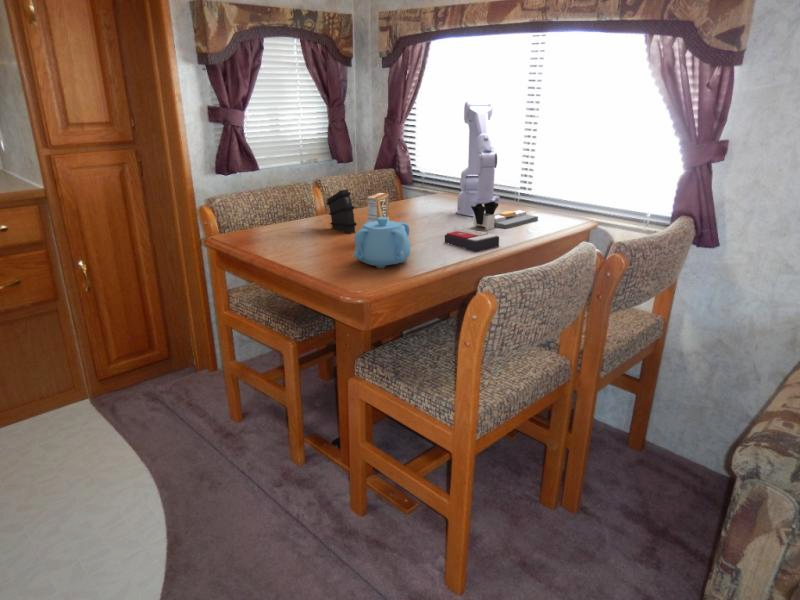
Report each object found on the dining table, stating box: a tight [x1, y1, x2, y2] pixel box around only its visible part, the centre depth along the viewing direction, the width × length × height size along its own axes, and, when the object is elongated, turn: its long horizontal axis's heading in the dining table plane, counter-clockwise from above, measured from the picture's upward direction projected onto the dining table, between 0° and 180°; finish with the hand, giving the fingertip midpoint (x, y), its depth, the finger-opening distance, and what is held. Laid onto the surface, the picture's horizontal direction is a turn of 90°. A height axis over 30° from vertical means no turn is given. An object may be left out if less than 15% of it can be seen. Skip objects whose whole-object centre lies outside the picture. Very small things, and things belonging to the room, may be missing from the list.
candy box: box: [366, 192, 390, 222], centre depth 192 cm, size 9×4×15 cm, turn 156°
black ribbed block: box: [326, 188, 357, 235], centre depth 206 cm, size 4×13×15 cm, turn 40°
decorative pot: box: [353, 217, 412, 269], centre depth 168 cm, size 16×16×14 cm
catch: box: [500, 210, 516, 217], centre depth 218 cm, size 3×6×1 cm, turn 132°
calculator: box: [444, 228, 500, 253], centre depth 188 cm, size 11×4×15 cm
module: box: [473, 212, 495, 231], centre depth 210 cm, size 6×4×5 cm, turn 42°
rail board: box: [494, 210, 539, 230], centre depth 219 cm, size 14×20×3 cm
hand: (483, 223), depth 210 cm, fingers open, 5 cm apart
